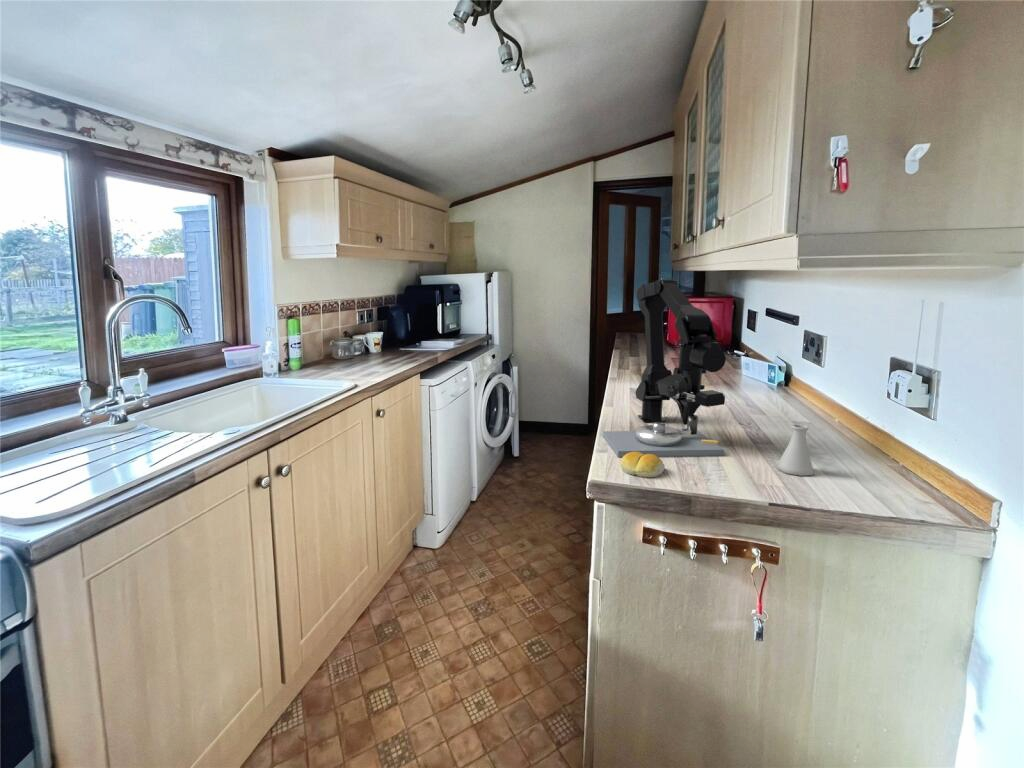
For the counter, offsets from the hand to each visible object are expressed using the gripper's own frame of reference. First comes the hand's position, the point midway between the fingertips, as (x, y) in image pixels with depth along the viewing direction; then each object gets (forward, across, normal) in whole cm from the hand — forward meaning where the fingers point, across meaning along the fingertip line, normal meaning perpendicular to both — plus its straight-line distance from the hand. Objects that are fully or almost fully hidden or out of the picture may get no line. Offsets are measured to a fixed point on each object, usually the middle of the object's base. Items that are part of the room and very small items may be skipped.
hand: (685, 424), depth 130 cm
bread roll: (+4, +13, -24) cm, 27 cm away
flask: (+4, +27, +6) cm, 28 cm away
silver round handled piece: (+2, +2, -7) cm, 8 cm away
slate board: (+4, +1, -9) cm, 10 cm away
